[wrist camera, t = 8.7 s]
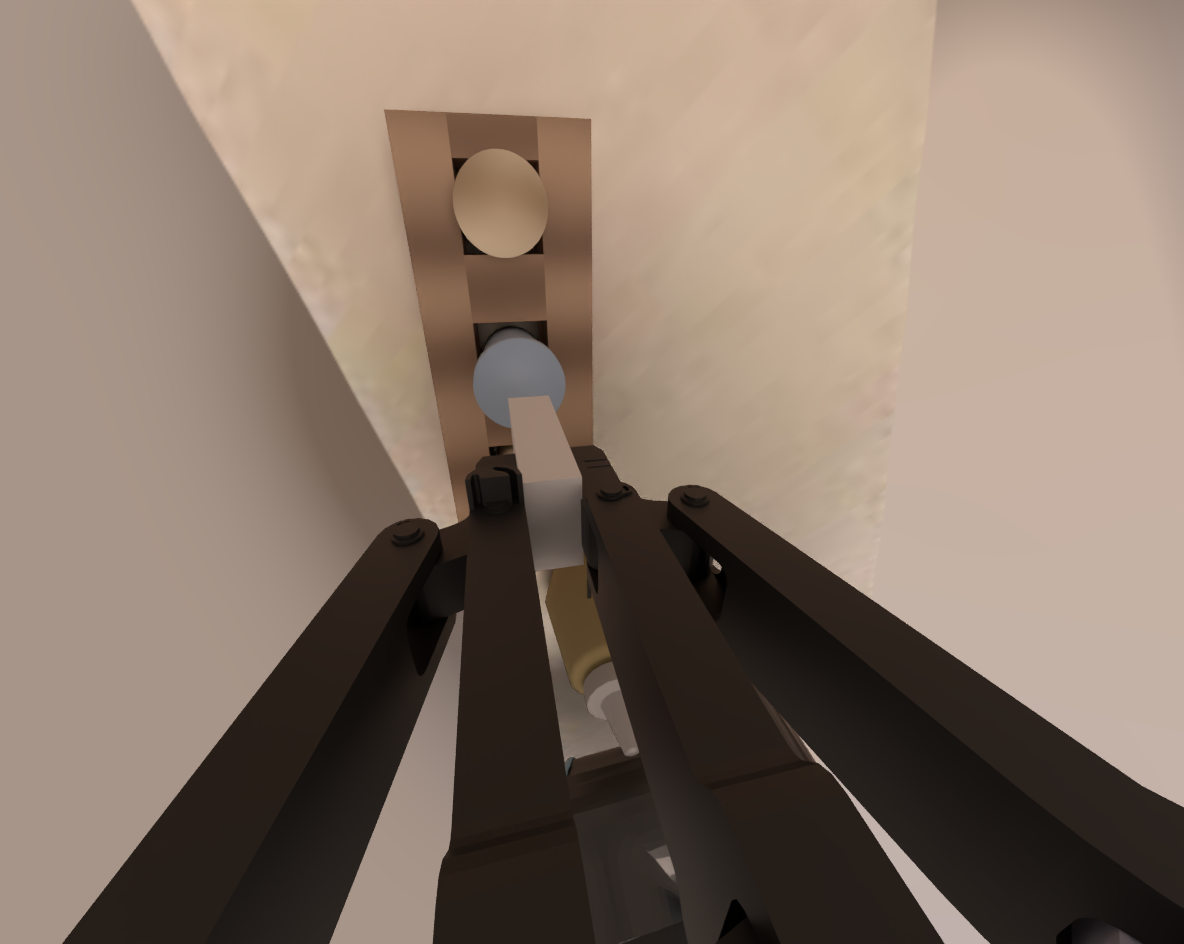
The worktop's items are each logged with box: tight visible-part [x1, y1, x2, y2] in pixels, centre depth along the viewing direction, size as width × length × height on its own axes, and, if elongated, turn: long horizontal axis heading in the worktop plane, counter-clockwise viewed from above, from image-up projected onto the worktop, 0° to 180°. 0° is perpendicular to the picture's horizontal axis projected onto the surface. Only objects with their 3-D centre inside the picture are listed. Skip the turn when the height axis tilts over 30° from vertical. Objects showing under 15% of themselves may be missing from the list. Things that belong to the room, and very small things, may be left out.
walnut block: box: [384, 110, 593, 523], centre depth 30 cm, size 24×10×6 cm, turn 1°
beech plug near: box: [453, 149, 548, 258], centre depth 24 cm, size 5×5×7 cm
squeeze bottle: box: [545, 551, 639, 756], centre depth 36 cm, size 8×8×18 cm
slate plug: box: [473, 326, 565, 428], centre depth 25 cm, size 5×5×7 cm
